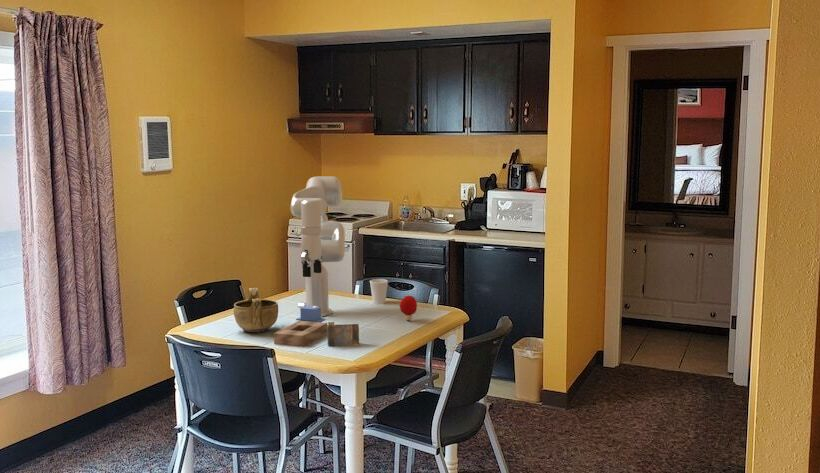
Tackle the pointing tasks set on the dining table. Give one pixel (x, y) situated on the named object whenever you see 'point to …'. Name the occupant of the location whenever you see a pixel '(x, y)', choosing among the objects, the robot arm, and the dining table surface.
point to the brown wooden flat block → (300, 333)
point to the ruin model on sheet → (343, 334)
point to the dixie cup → (378, 290)
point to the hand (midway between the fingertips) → (312, 274)
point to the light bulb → (408, 306)
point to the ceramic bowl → (255, 312)
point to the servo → (311, 314)
